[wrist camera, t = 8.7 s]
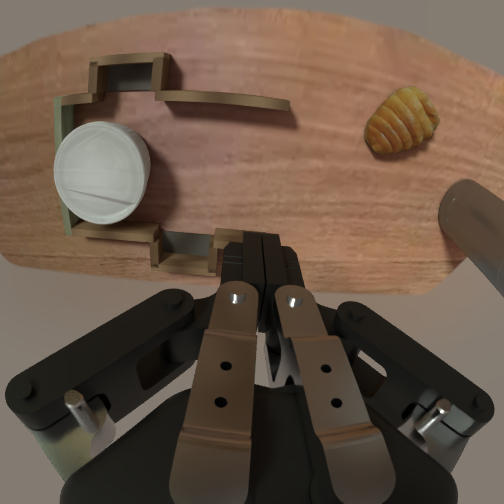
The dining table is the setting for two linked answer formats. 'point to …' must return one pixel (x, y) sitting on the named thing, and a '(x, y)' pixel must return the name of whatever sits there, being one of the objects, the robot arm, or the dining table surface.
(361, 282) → the dining table surface
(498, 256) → the robot arm
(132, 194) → the ramekin
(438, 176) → the dining table surface
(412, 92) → the pastry
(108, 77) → the box
